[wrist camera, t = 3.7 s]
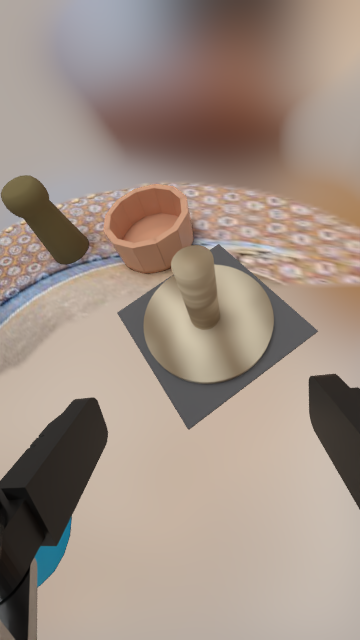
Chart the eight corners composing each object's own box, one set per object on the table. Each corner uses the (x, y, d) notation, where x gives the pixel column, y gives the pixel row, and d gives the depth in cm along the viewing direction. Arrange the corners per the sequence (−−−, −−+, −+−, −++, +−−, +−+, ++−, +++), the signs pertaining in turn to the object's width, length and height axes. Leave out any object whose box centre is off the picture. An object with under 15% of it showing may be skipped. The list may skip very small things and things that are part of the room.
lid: (190, 413, 22) (162, 399, 13) (127, 313, 29) (79, 259, 20) (302, 329, 24) (344, 265, 15) (217, 252, 30) (210, 175, 21)
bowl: (142, 287, 31) (127, 262, 26) (109, 242, 36) (91, 215, 31) (209, 242, 32) (205, 211, 27) (167, 205, 37) (158, 174, 32)
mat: (188, 429, 22) (188, 429, 22) (118, 314, 29) (117, 312, 29) (316, 332, 23) (318, 330, 23) (218, 246, 31) (218, 244, 31)
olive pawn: (82, 263, 35) (25, 198, 25) (48, 265, 36) (-18, 203, 27) (93, 233, 37) (44, 164, 28) (61, 236, 39) (4, 170, 29)
